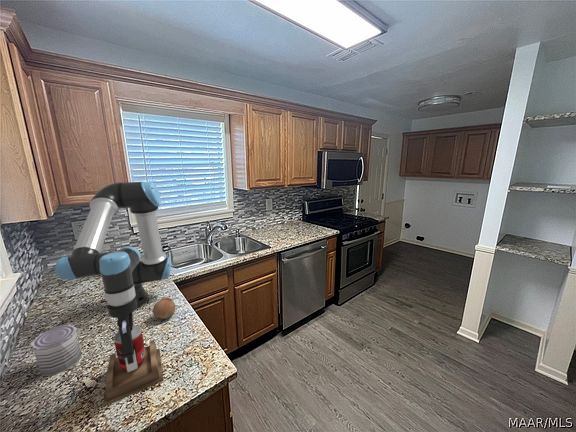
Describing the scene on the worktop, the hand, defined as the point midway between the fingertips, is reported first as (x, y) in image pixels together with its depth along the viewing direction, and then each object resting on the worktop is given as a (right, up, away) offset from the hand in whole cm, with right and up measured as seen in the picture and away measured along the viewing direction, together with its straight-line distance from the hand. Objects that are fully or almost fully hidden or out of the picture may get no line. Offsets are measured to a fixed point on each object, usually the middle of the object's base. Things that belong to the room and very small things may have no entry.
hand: (132, 360), depth 79 cm
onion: (-6, +1, +32) cm, 33 cm away
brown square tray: (0, -6, +1) cm, 6 cm away
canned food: (0, 0, 0) cm, 1 cm away
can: (-31, -5, +6) cm, 32 cm away
